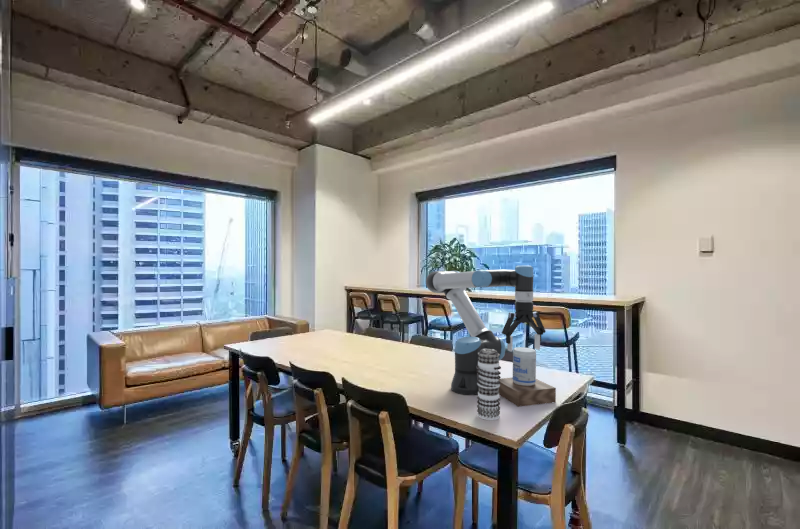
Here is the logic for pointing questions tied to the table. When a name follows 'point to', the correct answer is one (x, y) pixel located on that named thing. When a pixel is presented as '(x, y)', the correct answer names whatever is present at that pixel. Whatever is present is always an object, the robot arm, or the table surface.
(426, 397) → the table surface
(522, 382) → the supplement tub
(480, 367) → the decorative candle
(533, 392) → the walnut riser
